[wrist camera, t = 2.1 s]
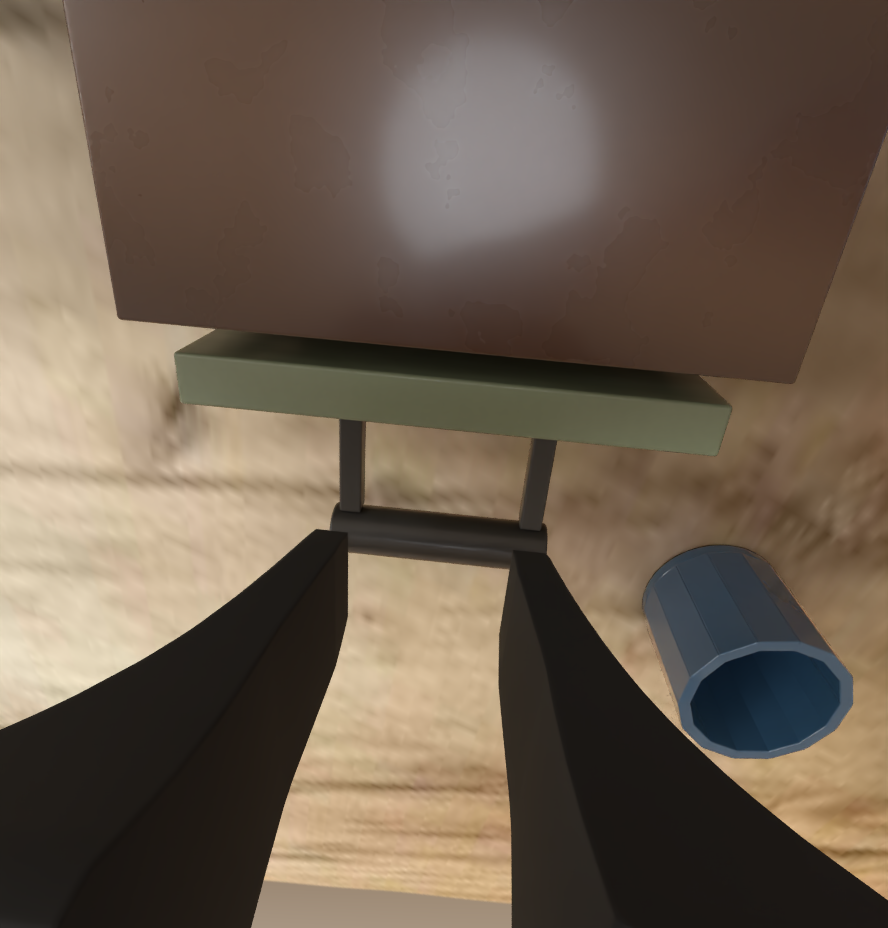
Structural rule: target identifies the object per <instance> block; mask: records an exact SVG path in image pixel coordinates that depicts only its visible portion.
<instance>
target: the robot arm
mask: <svg viewBox="0 0 888 928" xmlns="http://www.w3.org/2000/svg"><path fill="white" fill-rule="evenodd" d="M347 618H348V532H338V531H329V530H319V529H316V530H314V531H313V532H312V533H311V534H309V535H308V536H307V537H306V538H305V539H303V540H302V541H301V542H300V543H299V544H298V545H297V546H296V547H294V548H293V549H292V550H291V551H290V552H289V553H288V554H286V555H285V556H284V557H283V558H282V559H281V560H280V561H278V562H277V563H276V564H275V565H274V566H273V567H271V568H270V569H269V570H268V571H267V572H265V573H264V574H263V575H262V576H261V577H259V578H258V579H257V580H256V581H254V582H253V583H252V584H251V585H250V586H248V587H247V588H246V589H245V590H243V591H242V592H241V593H240V594H238V595H237V596H236V597H235V598H233V599H232V600H231V601H229V602H228V603H226V604H225V605H224V606H222V607H221V608H220V609H218V610H217V611H216V612H214V613H213V614H212V615H210V616H209V617H208V618H206V619H205V620H204V621H202V622H201V623H199V624H198V625H196V626H195V627H194V628H192V629H191V630H189V631H188V632H186V633H185V634H183V635H182V636H180V637H178V638H177V639H175V640H174V641H172V642H170V643H169V644H167V645H166V646H164V647H162V648H161V649H159V650H157V651H156V652H154V653H153V654H151V655H149V656H148V657H146V658H144V659H142V660H141V661H139V662H137V663H135V664H134V665H132V666H130V667H128V668H126V669H124V670H122V671H120V672H119V673H117V674H115V675H113V676H111V677H109V678H107V679H105V680H104V681H102V682H100V683H98V684H96V685H94V686H92V687H90V688H88V689H87V690H85V691H83V692H81V693H79V694H77V695H75V696H73V697H71V698H69V699H67V700H65V701H63V702H61V703H59V704H56V705H54V706H52V707H50V708H48V709H46V710H44V711H42V712H39V713H37V714H35V715H33V716H31V717H28V718H26V719H24V720H22V721H19V722H17V723H15V724H13V725H10V726H8V727H6V728H4V729H1V730H0V928H251V925H252V921H253V918H254V914H255V910H256V907H257V903H258V899H259V895H260V892H261V888H262V884H263V880H264V876H265V873H266V869H267V865H268V862H269V858H270V854H271V851H272V847H273V844H274V840H275V836H276V833H277V829H278V826H279V822H280V819H281V815H282V811H283V808H284V804H285V801H286V798H287V795H288V792H289V789H290V786H291V783H292V780H293V778H294V775H295V772H296V770H297V767H298V764H299V762H300V759H301V756H302V754H303V751H304V749H305V746H306V743H307V741H308V738H309V735H310V733H311V730H312V728H313V725H314V722H315V720H316V717H317V714H318V712H319V709H320V707H321V704H322V701H323V699H324V696H325V693H326V691H327V688H328V685H329V683H330V680H331V677H332V675H333V672H334V669H335V666H336V663H337V659H338V655H339V651H340V647H341V643H342V639H343V635H344V631H345V627H346V622H347ZM499 695H500V706H501V717H502V727H503V738H504V748H505V759H506V769H507V780H508V790H509V801H510V817H511V855H512V928H888V900H887V899H885V898H884V897H883V896H881V895H880V894H878V893H877V892H876V891H874V890H873V889H872V888H870V887H869V886H868V885H866V884H865V883H863V882H862V881H861V880H859V879H858V878H857V877H855V876H854V875H852V874H851V873H850V872H848V871H847V870H846V869H844V868H843V867H842V866H840V865H839V864H837V863H836V862H835V861H833V860H832V859H831V858H829V857H828V856H826V855H825V854H824V853H822V852H821V851H820V850H818V849H817V848H816V847H814V846H813V845H811V844H810V843H809V842H807V841H806V840H805V839H804V838H802V837H801V836H800V835H798V834H797V833H796V832H795V831H793V830H792V829H791V828H790V827H788V826H787V825H786V824H785V823H784V822H782V821H781V820H780V819H779V818H777V817H776V816H775V815H774V814H772V813H771V812H770V811H769V810H768V809H766V808H765V807H764V806H763V805H761V804H760V803H759V802H758V801H757V800H755V799H754V798H753V797H752V796H751V795H749V794H748V793H747V792H746V791H745V790H744V789H742V788H741V787H740V786H739V785H738V784H737V783H735V782H734V781H733V780H732V779H731V778H730V777H729V776H727V775H726V774H725V773H724V772H723V771H722V770H721V769H720V768H719V767H718V766H717V765H715V764H714V763H713V762H712V761H711V760H710V759H709V758H708V757H707V756H706V755H705V754H704V753H703V752H702V751H700V750H699V749H698V748H697V747H696V746H695V745H694V744H693V743H692V742H691V741H690V740H689V739H688V738H687V737H686V736H685V735H684V734H683V733H682V732H681V731H680V730H679V729H678V728H677V727H676V726H675V725H674V724H673V723H672V722H671V721H670V720H669V719H668V718H667V717H666V716H665V715H664V714H663V713H662V712H661V711H660V710H659V709H658V707H657V706H656V705H655V704H654V703H653V702H652V701H651V700H650V699H649V698H648V697H647V696H646V694H645V693H644V692H643V691H642V690H641V689H640V688H639V686H638V685H637V684H636V683H635V682H634V680H633V679H632V678H631V677H630V676H629V674H628V673H627V672H626V671H625V669H624V668H623V667H622V666H621V664H620V663H619V662H618V660H617V659H616V658H615V657H614V655H613V654H612V653H611V651H610V650H609V649H608V647H607V646H606V645H605V643H604V642H603V641H602V639H601V638H600V637H599V635H598V634H597V632H596V631H595V629H594V628H593V626H592V625H591V624H590V622H589V621H588V619H587V618H586V616H585V615H584V614H583V612H582V611H581V609H580V607H579V606H578V604H577V603H576V601H575V600H574V598H573V597H572V595H571V593H570V592H569V590H568V589H567V587H566V585H565V584H564V582H563V580H562V579H561V577H560V575H559V573H558V572H557V570H556V568H555V567H554V565H553V563H552V561H551V559H550V558H549V557H548V556H547V554H546V553H538V552H528V551H519V550H513V552H512V558H511V564H510V571H509V577H508V583H507V590H506V596H505V602H504V608H503V615H502V621H501V627H500V633H499Z"/></svg>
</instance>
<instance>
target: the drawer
mask: <svg viewBox="0 0 888 928" xmlns="http://www.w3.org/2000/svg"><path fill="white" fill-rule="evenodd" d="M174 358H175V365H176V373H177V380H178V387H179V395H180V401H181V403H185V404H195V405H205V406H216V407H226V408H236V409H246V410H256V411H266V412H276V413H286V414H296V415H306V416H316V417H326V418H336V419H339V435H340V502H338V503H337V504H336V505H335V507H334V510H333V513H332V518H331V523H330V531H338V532H348V552H349V553H358V554H368V555H377V556H387V557H396V558H405V559H415V560H424V561H434V562H443V563H453V564H462V565H471V566H481V567H490V568H500V569H509V570H510V564H511V558H512V552H513V550H519V551H528V552H538V553H546V554H547V527H546V524H544V523H542V521H543V516H544V510H545V505H546V499H547V494H548V488H549V483H550V478H551V472H552V467H553V461H554V456H555V450H556V445H557V441H567V442H577V443H587V444H597V445H607V446H617V447H627V448H637V449H647V450H657V451H667V452H677V453H687V454H697V455H707V456H717V454H718V452H719V449H720V446H721V443H722V440H723V437H724V434H725V430H726V427H727V424H728V421H729V418H730V415H731V412H732V406H731V405H730V404H729V403H728V402H727V401H726V400H725V399H724V398H723V397H721V396H720V395H719V394H718V393H717V392H716V391H715V390H714V389H713V388H712V387H711V386H710V385H709V384H708V383H707V382H706V381H704V380H703V379H702V378H701V377H700V376H699V375H692V374H682V373H672V372H661V371H651V370H640V369H630V368H619V367H609V366H599V365H588V364H578V363H567V362H557V361H546V360H536V359H525V358H515V357H505V356H494V355H484V354H473V353H463V352H452V351H442V350H432V349H421V348H411V347H400V346H390V345H379V344H369V343H359V342H348V341H338V340H327V339H317V338H306V337H296V336H286V335H275V334H265V333H254V332H244V331H233V330H223V329H216V330H214V331H212V332H211V333H209V334H207V335H205V336H203V337H202V338H200V339H198V340H196V341H195V342H193V343H191V344H189V345H187V346H186V347H184V348H182V349H180V350H178V351H177V352H175V354H174ZM366 422H376V423H386V424H396V425H406V426H416V427H426V428H436V429H446V430H456V431H466V432H476V433H486V434H497V435H507V436H517V437H527V438H531V444H530V450H529V456H528V463H527V469H526V475H525V481H524V488H523V494H522V500H521V506H520V513H519V521H517V520H507V519H498V518H488V517H478V516H469V515H459V514H449V513H440V512H430V511H421V510H411V509H401V508H392V507H382V506H372V505H363V504H364V494H365V440H366Z"/></svg>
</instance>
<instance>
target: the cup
mask: <svg viewBox="0 0 888 928" xmlns="http://www.w3.org/2000/svg"><path fill="white" fill-rule="evenodd" d="M642 607H643V614H644V617H645V620H646V623H647V628H648V632H649V635H650V638H651V641H652V644H653V646H654V649H655V652H656V655H657V658H658V661H659V664H660V666H661V669H662V672H663V675H664V678H665V681H666V683H667V686H668V689H669V692H670V695H671V698H672V701H673V703H674V706H675V709H676V712H677V715H678V718H679V721H680V723H681V726H682V728H683V729H684V730H685V731H686V732H687V733H688V734H689V735H690V736H691V737H692V738H693V739H694V740H695V741H696V742H697V743H698V744H699V745H700V746H701V747H703V748H705V749H708V750H710V751H713V752H716V753H719V754H722V755H725V756H728V757H730V758H744V759H769V758H775V757H778V756H782V755H786V754H789V753H793V752H797V751H800V750H804V749H805V748H808V747H810V746H811V745H813V744H815V743H816V742H818V741H819V740H821V739H822V738H824V737H825V736H827V735H829V734H830V733H832V732H833V731H835V729H837V727H838V726H839V725H840V723H841V722H842V720H843V719H844V717H845V716H846V714H847V713H848V711H849V710H850V708H851V707H852V705H853V677H852V675H851V673H850V672H849V670H848V669H847V668H846V666H845V665H844V664H843V662H842V661H841V659H840V658H839V657H838V655H837V654H836V653H835V651H834V650H833V649H832V647H831V646H830V644H829V643H828V642H827V640H826V639H825V638H824V636H823V635H822V633H821V632H820V631H819V629H818V628H817V627H816V625H815V624H814V622H813V621H812V620H811V618H810V617H809V616H808V614H807V613H806V611H805V610H804V609H803V607H802V606H801V605H800V603H799V602H798V601H797V599H796V598H795V596H794V595H793V594H792V592H791V591H790V590H789V588H788V587H787V585H786V584H785V583H784V581H783V580H782V579H781V578H780V577H779V575H778V574H777V573H776V571H775V570H774V569H773V567H772V566H771V565H770V564H769V563H768V562H767V561H766V560H765V559H764V558H762V557H761V556H759V555H758V554H756V553H754V552H752V551H749V550H747V549H744V548H740V547H735V546H728V545H713V546H705V547H700V548H696V549H692V550H690V551H687V552H684V553H682V554H680V555H678V556H676V557H674V558H673V559H671V560H670V561H668V562H667V563H666V564H664V565H663V566H662V567H661V568H660V569H659V570H658V571H657V572H656V573H655V574H654V575H653V577H652V578H651V579H650V581H649V583H648V585H647V587H646V589H645V592H644V596H643V604H642Z"/></svg>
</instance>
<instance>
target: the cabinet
mask: <svg viewBox="0 0 888 928" xmlns="http://www.w3.org/2000/svg"><path fill="white" fill-rule="evenodd" d="M62 1H63V6H64V12H65V18H66V24H67V29H68V35H69V41H70V47H71V52H72V58H73V64H74V69H75V75H76V81H77V87H78V92H79V98H80V104H81V109H82V115H83V121H84V127H85V132H86V138H87V144H88V150H89V155H90V161H91V167H92V172H93V178H94V184H95V190H96V195H97V201H98V207H99V212H100V218H101V224H102V230H103V235H104V241H105V247H106V253H107V258H108V264H109V270H110V275H111V281H112V287H113V293H114V298H115V304H116V310H117V315H118V318H119V319H121V320H129V321H139V322H150V323H160V324H171V325H181V326H192V327H202V328H213V329H223V330H233V331H244V332H254V333H265V334H275V335H286V336H296V337H306V338H317V339H327V340H338V341H348V342H359V343H369V344H379V345H390V346H400V347H411V348H421V349H432V350H442V351H452V352H463V353H473V354H484V355H494V356H505V357H515V358H525V359H536V360H546V361H557V362H567V363H578V364H588V365H599V366H609V367H619V368H630V369H640V370H651V371H661V372H672V373H682V374H692V375H703V376H713V377H724V378H734V379H745V380H755V381H765V382H776V383H786V384H792V383H794V382H795V381H796V378H797V375H798V372H799V370H800V367H801V364H802V362H803V359H804V356H805V353H806V351H807V348H808V345H809V342H810V340H811V337H812V334H813V332H814V329H815V326H816V323H817V321H818V318H819V315H820V312H821V310H822V307H823V304H824V302H825V299H826V296H827V293H828V291H829V288H830V285H831V283H832V280H833V277H834V274H835V272H836V269H837V266H838V263H839V261H840V258H841V255H842V253H843V250H844V247H845V244H846V242H847V239H848V236H849V233H850V231H851V228H852V225H853V223H854V220H855V217H856V214H857V212H858V209H859V206H860V204H861V201H862V198H863V195H864V193H865V190H866V187H867V184H868V182H869V179H870V176H871V174H872V171H873V168H874V165H875V163H876V160H877V157H878V155H879V152H880V149H881V146H882V144H883V141H884V138H885V135H886V133H887V130H888V0H62Z"/></svg>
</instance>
